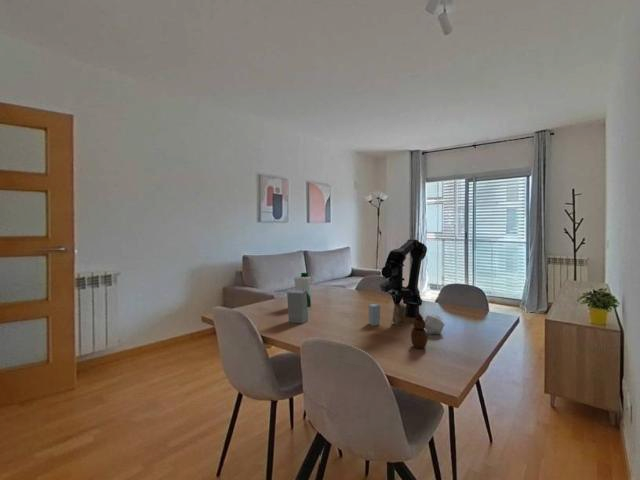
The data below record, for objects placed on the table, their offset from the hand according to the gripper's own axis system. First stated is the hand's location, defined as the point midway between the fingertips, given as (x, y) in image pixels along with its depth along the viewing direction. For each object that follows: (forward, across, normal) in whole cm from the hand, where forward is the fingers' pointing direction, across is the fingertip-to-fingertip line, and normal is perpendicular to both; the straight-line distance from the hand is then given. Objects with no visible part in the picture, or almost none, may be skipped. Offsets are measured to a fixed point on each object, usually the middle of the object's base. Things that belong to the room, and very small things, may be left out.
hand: (396, 307), depth 170 cm
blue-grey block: (+8, -3, -11) cm, 14 cm away
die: (+8, +19, +7) cm, 22 cm away
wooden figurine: (+8, +31, -10) cm, 34 cm away
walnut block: (+8, +1, 0) cm, 8 cm away
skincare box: (+8, -20, -45) cm, 50 cm away
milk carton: (+8, -50, -33) cm, 60 cm away
